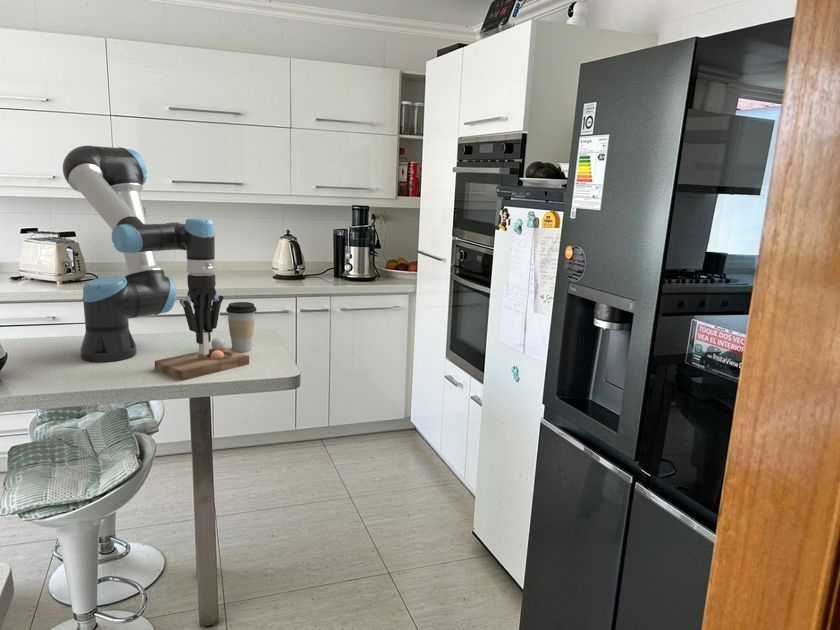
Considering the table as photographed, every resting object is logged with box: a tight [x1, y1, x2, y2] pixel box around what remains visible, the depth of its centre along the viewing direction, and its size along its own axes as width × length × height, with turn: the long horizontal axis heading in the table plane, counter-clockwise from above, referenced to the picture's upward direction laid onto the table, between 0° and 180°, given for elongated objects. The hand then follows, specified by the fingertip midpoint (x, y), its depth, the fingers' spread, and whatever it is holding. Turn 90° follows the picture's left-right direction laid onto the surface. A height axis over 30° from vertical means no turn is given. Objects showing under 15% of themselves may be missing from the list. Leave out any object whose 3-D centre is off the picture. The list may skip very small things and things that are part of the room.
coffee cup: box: [225, 301, 257, 353], centre depth 197 cm, size 9×9×15 cm
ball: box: [210, 350, 224, 358], centre depth 182 cm, size 4×4×4 cm
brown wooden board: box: [154, 347, 250, 381], centre depth 179 cm, size 14×22×2 cm, turn 143°
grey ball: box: [210, 337, 226, 350], centre depth 187 cm, size 4×4×4 cm
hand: (203, 353), depth 178 cm, fingers closed
